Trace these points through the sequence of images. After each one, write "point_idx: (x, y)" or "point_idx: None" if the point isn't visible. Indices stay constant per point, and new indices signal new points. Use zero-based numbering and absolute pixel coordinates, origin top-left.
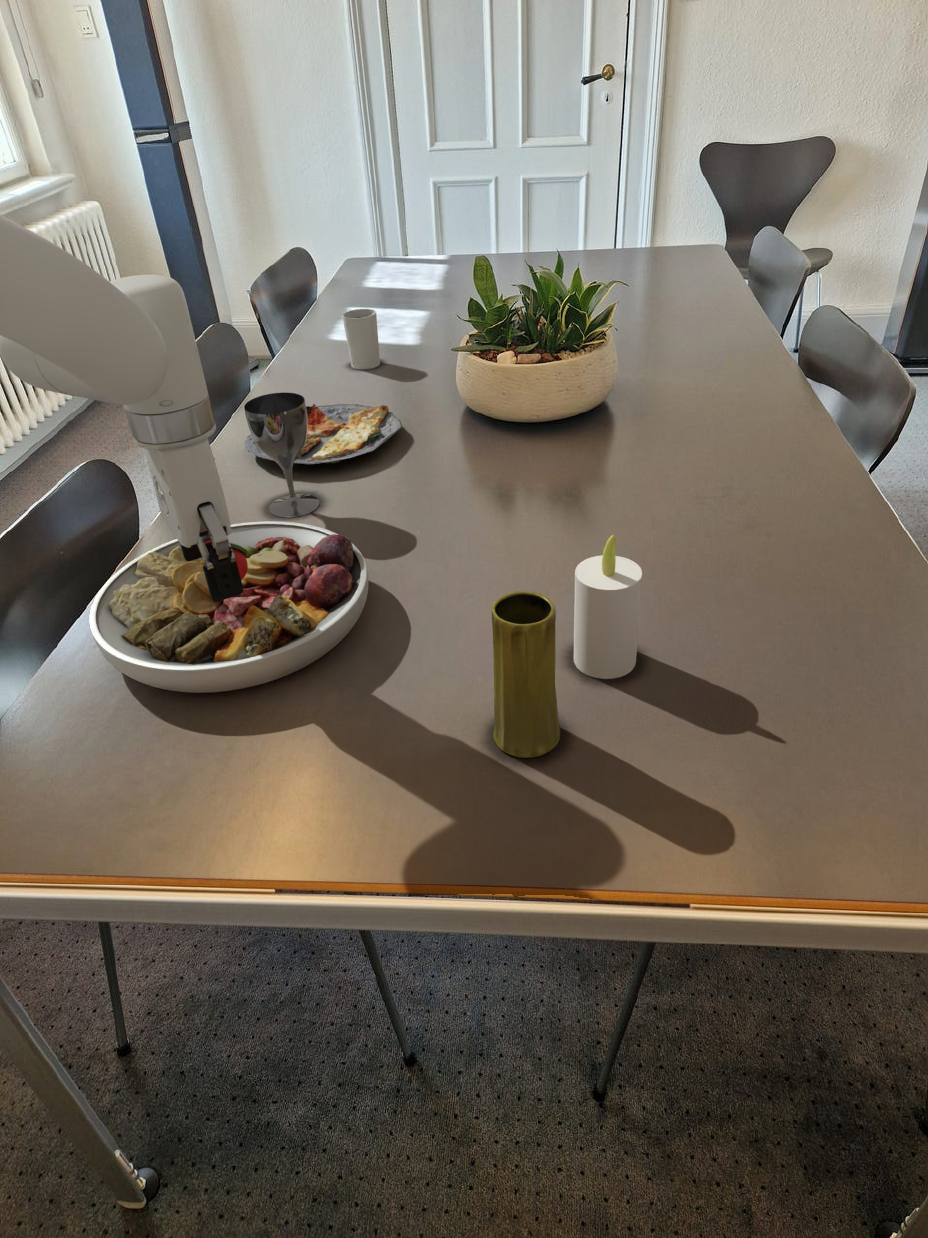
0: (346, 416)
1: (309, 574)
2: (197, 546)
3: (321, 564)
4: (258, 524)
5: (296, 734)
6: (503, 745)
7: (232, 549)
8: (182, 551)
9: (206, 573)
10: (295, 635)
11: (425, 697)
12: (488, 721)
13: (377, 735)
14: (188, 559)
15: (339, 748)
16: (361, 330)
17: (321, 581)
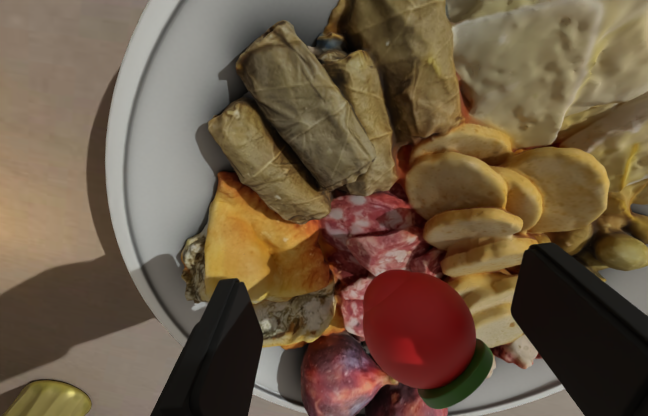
0: None
1: None
2: (548, 314)
3: (385, 394)
4: None
5: (82, 231)
6: (27, 389)
7: (428, 388)
8: (572, 263)
9: (175, 381)
10: None
11: (135, 355)
12: (86, 382)
13: (72, 306)
14: (529, 254)
15: (49, 269)
16: None
17: (311, 395)
